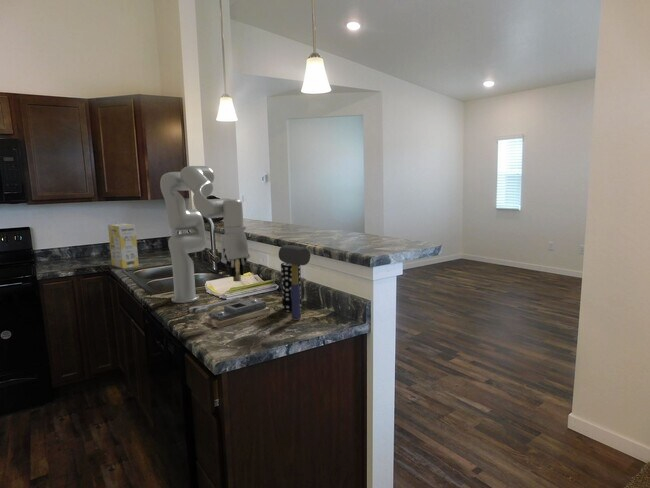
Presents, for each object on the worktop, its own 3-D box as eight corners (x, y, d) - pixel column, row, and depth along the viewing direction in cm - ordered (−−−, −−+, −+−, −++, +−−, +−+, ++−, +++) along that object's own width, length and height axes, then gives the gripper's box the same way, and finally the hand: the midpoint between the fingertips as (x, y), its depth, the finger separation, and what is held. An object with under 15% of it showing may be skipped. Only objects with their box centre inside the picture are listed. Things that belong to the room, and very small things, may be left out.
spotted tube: (296, 312, 179) (295, 266, 176) (279, 310, 182) (277, 265, 179) (304, 307, 187) (303, 262, 184) (287, 305, 190) (286, 261, 187)
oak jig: (205, 322, 170) (204, 317, 169) (256, 308, 187) (256, 303, 187) (218, 327, 163) (218, 322, 162) (270, 312, 180) (270, 308, 180)
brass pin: (231, 280, 172) (230, 256, 171) (238, 279, 174) (236, 255, 173) (236, 281, 170) (234, 257, 169) (242, 280, 172) (240, 256, 171)
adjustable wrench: (237, 300, 202) (237, 296, 202) (245, 302, 197) (244, 299, 197) (187, 311, 185) (187, 307, 185) (194, 314, 181) (194, 310, 180)
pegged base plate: (209, 316, 170) (208, 308, 169) (254, 304, 185) (254, 296, 184) (220, 321, 164) (219, 312, 164) (265, 308, 179) (265, 300, 179)
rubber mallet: (279, 318, 172) (276, 245, 168) (293, 314, 178) (290, 243, 173) (299, 325, 164) (297, 248, 159) (313, 320, 169) (311, 245, 164)
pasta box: (138, 265, 288) (135, 224, 284) (122, 268, 281) (119, 226, 277) (127, 262, 301) (123, 223, 296) (111, 265, 293) (107, 224, 289)
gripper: (245, 228, 178) (248, 271, 180) (210, 232, 166) (213, 278, 169) (256, 229, 172) (258, 273, 175) (221, 233, 161) (224, 280, 164)
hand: (236, 275), depth 172 cm, fingers closed on brass pin, 3 cm apart
